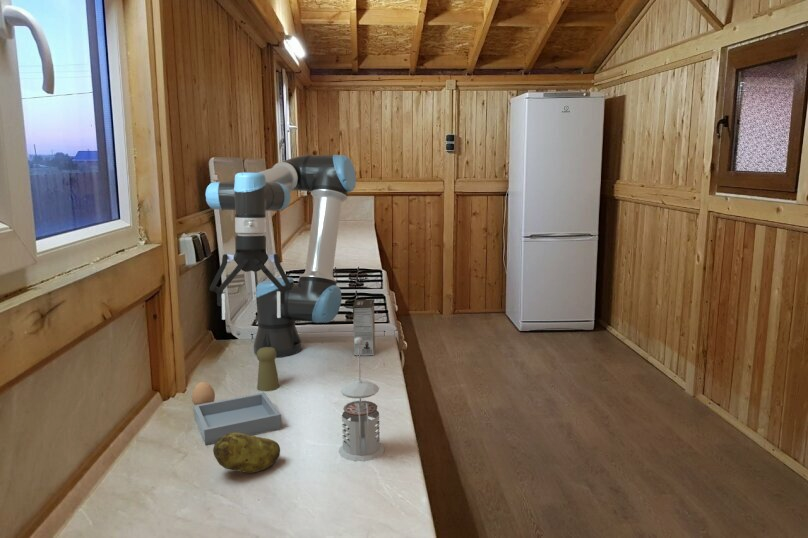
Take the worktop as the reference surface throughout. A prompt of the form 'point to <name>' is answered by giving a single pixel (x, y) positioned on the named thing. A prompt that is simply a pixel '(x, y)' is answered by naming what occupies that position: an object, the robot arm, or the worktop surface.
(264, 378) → the cork
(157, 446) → the worktop surface
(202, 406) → the grey bin
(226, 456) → the potato
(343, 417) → the french press
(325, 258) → the robot arm
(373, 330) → the coffee box
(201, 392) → the egg
